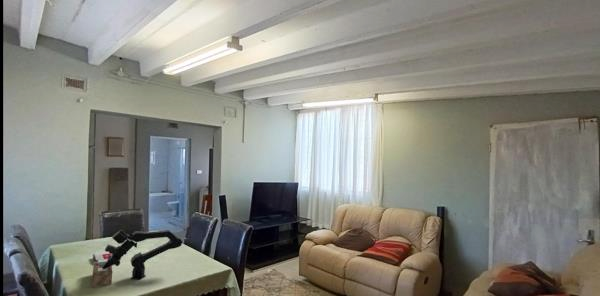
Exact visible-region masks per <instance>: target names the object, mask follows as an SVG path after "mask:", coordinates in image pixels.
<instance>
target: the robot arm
mask: <svg viewBox="0 0 600 296" xmlns="http://www.w3.org/2000/svg"><path fill="white" fill-rule="evenodd" d="M161 238H167V239H168V241H167V242H166V243H164V244H161V245H160V246H158V247H155V248H153V249H151V250H149V251H147V252H144V253H142V252H141V251H140V252H137V253H136V254H133V256H132V257H131V258H130V264H131V267H132V273H131V277H130V279H133V280H142V279H144V278H145V277H147V274H146V275H145V273H146V272H145V270H146V266H145V263H146V262H147V261H148V260H149V259H152V258H153V257H156V256H158V255H160V254H162V253H164V252H166V251H168V250H169V251H170V250H172V249H176V248H180V247H181V246H182V245H183V240H182V239H181V237H179V236H176V235H175V234H173V233H172V232H171V230H169V229H167V230H159V231H158V230H156V231H142V230H141V231H140V230H135V231H133V232H131V233H125V232H124V230H123V229H120V230H119V231H117V232H115V233H114V234H113V235H112V237H111V239H112V240H114V241H115V242H116V243H117V244H120V245H117V246H114V245H111V244H107V245H106V247H105V248H104V252H109V253H111V255H108V260H107V262H106V263H105V264H104V266H103V267H102V268H103V269H105V268H107V267H110V266H112V267H113V266H116V267H119V266H120V264H121V259H122V258H123V257H124V256H126V255H127V254H128V252H129V251H130V250H131V249H132V248H133V247H134V248H136V249H137V247H138V243H139V242H143V241H146V240H151V239H161Z"/></svg>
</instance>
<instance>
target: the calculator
mask: <svg viewBox="0 0 600 296" xmlns="http://www.w3.org/2000/svg"><path fill="white" fill-rule="evenodd" d="M108 255H111V253H109V252H106V251H104V252H97V253H93V255H92V259H93V263H94V262H98V260H102V259H108Z"/></svg>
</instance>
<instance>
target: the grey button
mask: <svg viewBox="0 0 600 296" xmlns="http://www.w3.org/2000/svg"><path fill="white" fill-rule="evenodd" d="M107 260H108V259H102V260H98V266H100V265H104V264H105V263H106V262H107Z"/></svg>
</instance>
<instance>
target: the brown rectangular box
mask: <svg viewBox="0 0 600 296" xmlns="http://www.w3.org/2000/svg"><path fill="white" fill-rule="evenodd" d="M103 266H104V265H100V266H98V262H94V261H93V266H92V280H91V288H97V287H104V286H110V285H113V284H112V282H113V265H112V266H110V267H108V270H107V271H99V272H98V268H102V267H103Z"/></svg>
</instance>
